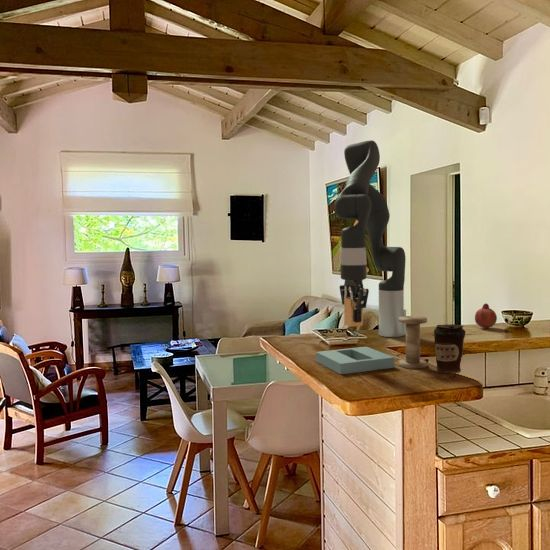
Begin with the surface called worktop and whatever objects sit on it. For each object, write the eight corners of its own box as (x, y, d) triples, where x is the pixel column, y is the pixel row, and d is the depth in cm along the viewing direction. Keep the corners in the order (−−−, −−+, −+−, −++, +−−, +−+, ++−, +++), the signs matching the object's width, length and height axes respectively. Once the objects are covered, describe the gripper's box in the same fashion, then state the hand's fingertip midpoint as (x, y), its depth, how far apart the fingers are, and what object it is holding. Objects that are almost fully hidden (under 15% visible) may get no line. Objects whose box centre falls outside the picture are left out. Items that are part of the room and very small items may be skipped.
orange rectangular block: (356, 323, 162) (356, 297, 161) (362, 325, 158) (362, 298, 158) (344, 324, 161) (344, 297, 160) (350, 326, 157) (350, 299, 156)
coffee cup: (460, 377, 145) (461, 329, 144) (429, 373, 149) (429, 327, 148) (467, 369, 152) (468, 324, 151) (438, 366, 156) (438, 322, 155)
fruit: (470, 327, 215) (470, 302, 214) (488, 326, 217) (488, 301, 216) (482, 331, 207) (483, 305, 207) (501, 329, 209) (501, 304, 209)
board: (366, 355, 171) (366, 346, 171) (394, 367, 156) (394, 357, 156) (316, 361, 165) (316, 352, 165) (340, 374, 150) (340, 363, 150)
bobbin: (416, 360, 163) (416, 315, 162) (432, 366, 156) (432, 319, 155) (393, 363, 160) (393, 317, 159) (409, 369, 153) (409, 321, 152)
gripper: (377, 264, 153) (377, 323, 154) (352, 261, 166) (353, 316, 167) (353, 265, 150) (354, 325, 151) (331, 262, 163) (331, 318, 165)
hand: (353, 320), depth 159 cm, fingers closed on orange rectangular block, 4 cm apart
